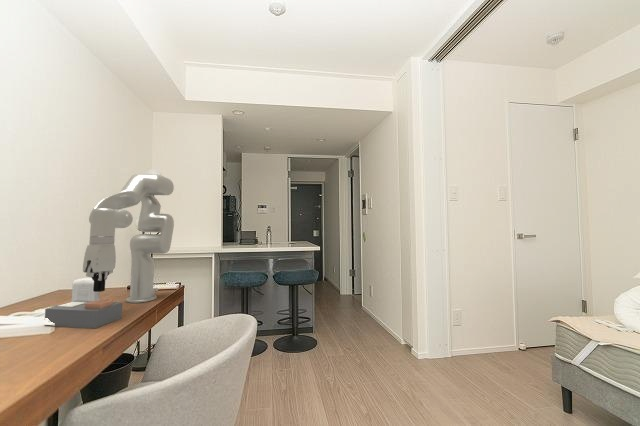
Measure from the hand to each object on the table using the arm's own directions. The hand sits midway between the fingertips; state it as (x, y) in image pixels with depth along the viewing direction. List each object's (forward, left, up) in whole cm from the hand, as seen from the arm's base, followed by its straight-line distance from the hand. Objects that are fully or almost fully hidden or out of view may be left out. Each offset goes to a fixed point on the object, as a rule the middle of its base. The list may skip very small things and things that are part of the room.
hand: (98, 291), depth 109 cm
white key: (-1, -11, -10) cm, 15 cm away
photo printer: (-20, -24, -12) cm, 33 cm away
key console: (-1, -6, -12) cm, 13 cm away
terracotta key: (-1, 0, -9) cm, 9 cm away
